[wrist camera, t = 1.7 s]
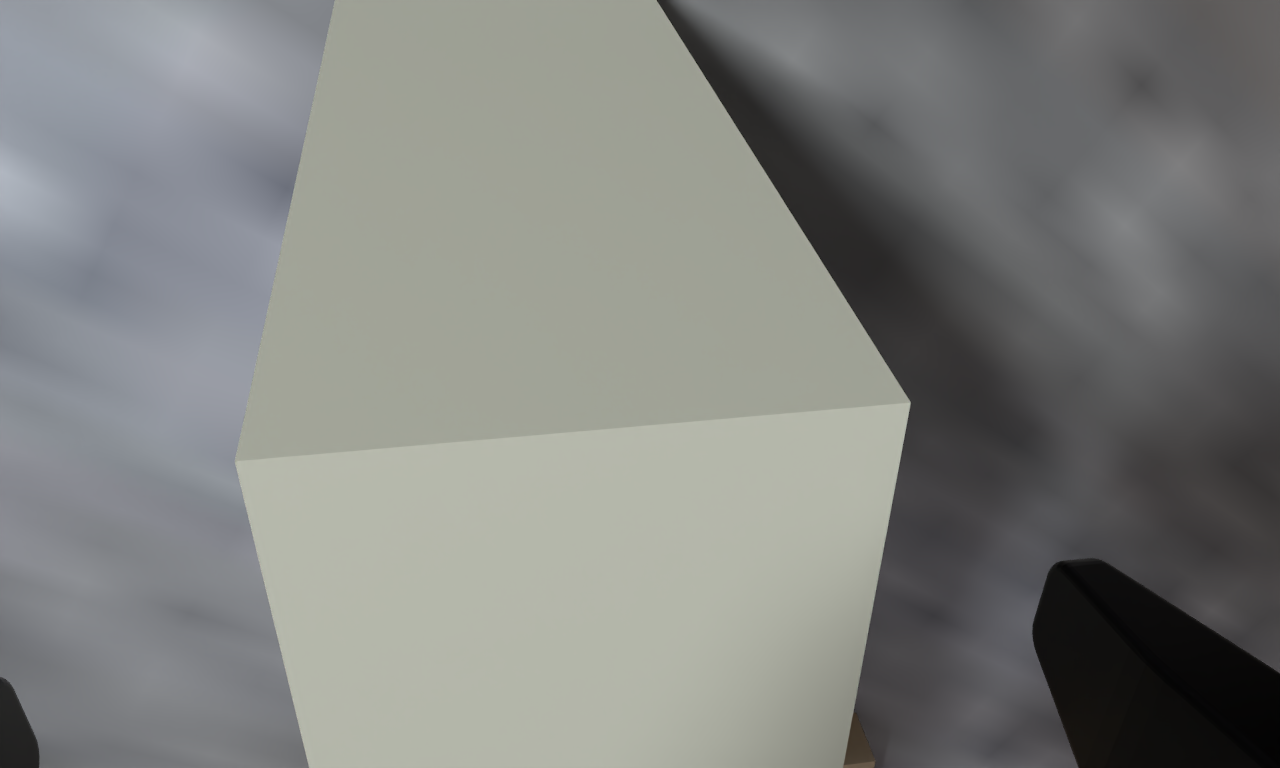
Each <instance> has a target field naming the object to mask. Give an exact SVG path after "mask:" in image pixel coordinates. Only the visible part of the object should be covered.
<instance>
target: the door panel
mask: <svg viewBox="0 0 1280 768" xmlns="http://www.w3.org/2000/svg"><path fill="white" fill-rule="evenodd" d="M910 404H911V402H910V400H909V399H908V397H907V396H906V394H905V393H904V391H903V389H902V388H901V386H900V385H899V383H898V382H897V380H896V378H895V377H894V375H893V374H892V372H891V370H890V369H889V367H888V366H887V364H886V363H885V361H884V359H883V358H882V356H881V355H880V353H879V351H878V350H877V348H876V347H875V345H874V344H873V342H872V340H871V339H870V337H869V336H868V334H867V332H866V331H865V329H864V328H863V326H862V325H861V323H860V321H859V320H858V318H857V317H856V315H855V313H854V312H853V310H852V309H851V307H850V306H849V304H848V302H847V301H846V299H845V298H844V296H843V294H842V293H841V291H840V290H839V288H838V287H837V285H836V283H835V282H834V280H833V279H832V277H831V276H830V274H829V272H828V271H827V269H826V268H825V266H824V264H823V263H822V261H821V260H820V258H819V257H818V255H817V253H816V252H815V250H814V249H813V247H812V245H811V244H810V242H809V241H808V239H807V238H806V236H805V234H804V233H803V231H802V230H801V228H800V226H799V225H798V223H797V222H796V220H795V219H794V217H793V215H792V214H791V212H790V211H789V209H788V207H787V206H786V204H785V203H784V201H783V200H782V198H781V196H780V195H779V193H778V192H777V190H776V188H775V187H774V185H773V184H772V182H771V181H770V179H769V177H768V176H767V174H766V173H765V171H764V170H763V168H762V166H761V165H760V163H759V162H758V160H757V158H756V157H755V155H754V154H753V152H752V151H751V149H750V147H749V146H748V144H747V143H746V141H745V139H744V138H743V136H742V135H741V133H740V132H739V130H738V128H737V127H736V125H735V124H734V122H733V120H732V119H731V117H730V116H729V114H728V113H727V111H726V109H725V108H724V106H723V105H722V103H721V101H720V100H719V98H718V97H717V95H716V94H715V92H714V90H713V89H712V87H711V86H710V84H709V82H708V81H707V79H706V78H705V76H704V75H703V73H702V71H701V70H700V68H699V67H698V65H697V64H696V62H695V60H694V59H693V57H692V56H691V54H690V52H689V51H688V49H687V48H686V46H685V45H684V43H683V41H682V40H681V38H680V37H679V35H678V33H677V32H676V30H675V29H674V27H673V26H672V24H671V22H670V21H669V19H668V18H667V16H666V14H665V13H664V11H663V10H662V8H661V7H660V5H659V3H658V2H657V0H335V3H334V7H333V12H332V17H331V21H330V26H329V30H328V35H327V40H326V44H325V49H324V53H323V58H322V63H321V67H320V72H319V76H318V81H317V86H316V90H315V95H314V99H313V104H312V109H311V113H310V118H309V122H308V127H307V132H306V136H305V141H304V145H303V150H302V155H301V159H300V164H299V168H298V173H297V178H296V182H295V187H294V192H293V196H292V201H291V205H290V210H289V215H288V219H287V224H286V228H285V233H284V238H283V242H282V247H281V251H280V256H279V261H278V265H277V270H276V274H275V279H274V284H273V288H272V293H271V297H270V302H269V307H268V311H267V316H266V320H265V325H264V330H263V334H262V339H261V343H260V348H259V353H258V357H257V362H256V366H255V371H254V376H253V380H252V385H251V389H250V394H249V399H248V403H247V408H246V412H245V417H244V422H243V426H242V431H241V435H240V440H239V445H238V449H237V454H236V458H235V464H236V468H237V472H238V476H239V480H240V485H241V489H242V493H243V497H244V501H245V505H246V509H247V513H248V517H249V522H250V526H251V530H252V534H253V538H254V542H255V546H256V550H257V554H258V559H259V563H260V567H261V571H262V575H263V579H264V583H265V587H266V591H267V596H268V600H269V604H270V608H271V612H272V616H273V620H274V624H275V629H276V633H277V637H278V641H279V645H280V649H281V653H282V657H283V661H284V666H285V670H286V674H287V678H288V682H289V686H290V690H291V694H292V698H293V703H294V707H295V711H296V715H297V719H298V723H299V727H300V731H301V735H302V740H303V744H304V748H305V752H306V756H307V760H308V764H309V768H843V765H844V760H845V754H846V749H847V744H848V738H849V733H850V727H851V722H852V717H853V711H854V706H855V701H856V695H857V690H858V684H859V679H860V674H861V668H862V663H863V657H864V652H865V647H866V641H867V636H868V631H869V625H870V620H871V614H872V609H873V604H874V598H875V593H876V587H877V582H878V577H879V571H880V566H881V561H882V555H883V550H884V544H885V539H886V534H887V528H888V523H889V517H890V512H891V507H892V501H893V496H894V491H895V485H896V480H897V474H898V469H899V464H900V458H901V453H902V447H903V442H904V437H905V431H906V426H907V421H908V415H909V410H910Z"/></svg>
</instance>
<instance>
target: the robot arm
mask: <svg viewBox="0 0 1280 768" xmlns="http://www.w3.org/2000/svg"><path fill="white" fill-rule="evenodd" d="M1032 634H1033V642H1034V647H1035V650H1036V653H1037V656H1038V659H1039V662H1040V664H1041V667H1042V670H1043V672H1044V675H1045V678H1046V681H1047V683H1048V686H1049V689H1050V691H1051V694H1052V697H1053V700H1054V702H1055V705H1056V708H1057V710H1058V713H1059V716H1060V718H1061V721H1062V724H1063V727H1064V729H1065V732H1066V735H1067V737H1068V740H1069V743H1070V746H1071V748H1072V751H1073V754H1074V756H1075V759H1076V762H1077V765H1078V767H1079V768H1280V673H1279V672H1277V671H1276V670H1274V669H1273V668H1271V667H1269V666H1268V665H1266V664H1265V663H1263V662H1262V661H1260V660H1258V659H1257V658H1255V657H1254V656H1252V655H1251V654H1249V653H1247V652H1246V651H1244V650H1243V649H1241V648H1240V647H1238V646H1237V645H1235V644H1233V643H1232V642H1230V641H1229V640H1227V639H1226V638H1224V637H1222V636H1221V635H1219V634H1218V633H1216V632H1215V631H1213V630H1211V629H1210V628H1208V627H1207V626H1205V625H1204V624H1202V623H1200V622H1199V621H1197V620H1196V619H1194V618H1193V617H1191V616H1190V615H1188V614H1186V613H1185V612H1183V611H1182V610H1180V609H1179V608H1177V607H1175V606H1174V605H1172V604H1171V603H1169V602H1168V601H1166V600H1164V599H1163V598H1161V597H1160V596H1158V595H1157V594H1155V593H1153V592H1152V591H1150V590H1149V589H1147V588H1146V587H1144V586H1143V585H1141V584H1139V583H1138V582H1136V581H1135V580H1133V579H1132V578H1130V577H1128V576H1127V575H1125V574H1124V573H1122V572H1121V571H1119V570H1117V569H1116V568H1114V567H1113V566H1111V565H1110V564H1108V563H1106V562H1104V561H1102V560H1100V559H1096V558H1086V559H1077V560H1068V561H1060V562H1057V563H1055V564H1054V565H1053V566H1052V567H1051V569H1050V570H1049V573H1048V575H1047V578H1046V582H1045V585H1044V588H1043V592H1042V595H1041V598H1040V601H1039V605H1038V608H1037V611H1036V615H1035V618H1034V621H1033V630H1032ZM0 768H39V748H38V743H37V740H36V737H35V735H34V732H33V730H32V728H31V726H30V724H29V721H28V719H27V717H26V715H25V713H24V710H23V708H22V706H21V704H20V702H19V699H18V697H17V695H16V693H15V691H14V689H13V687H12V685H11V684H10V682H8V681H7V680H6V679H4V678H2V677H0Z"/></svg>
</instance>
